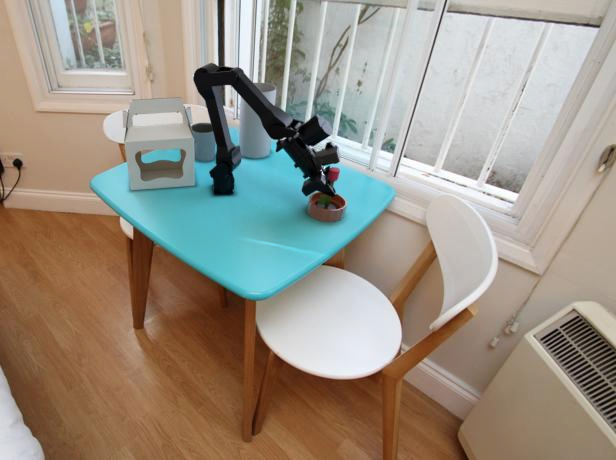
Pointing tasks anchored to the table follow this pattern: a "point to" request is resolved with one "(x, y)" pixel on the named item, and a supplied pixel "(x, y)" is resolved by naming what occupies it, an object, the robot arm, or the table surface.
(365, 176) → the table surface
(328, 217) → the bowl
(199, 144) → the grey cup
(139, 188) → the gable box
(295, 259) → the table surface
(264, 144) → the cylinder vase
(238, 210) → the table surface
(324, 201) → the tulip
